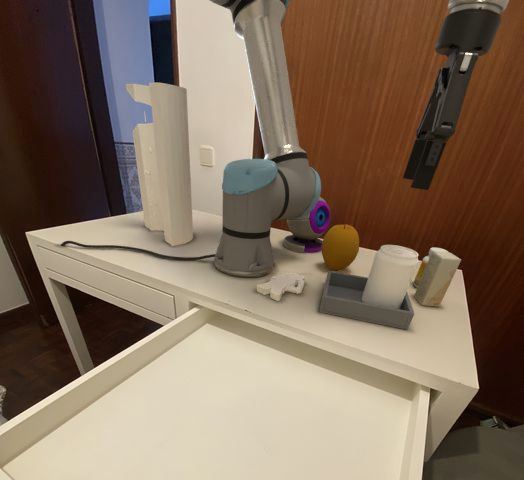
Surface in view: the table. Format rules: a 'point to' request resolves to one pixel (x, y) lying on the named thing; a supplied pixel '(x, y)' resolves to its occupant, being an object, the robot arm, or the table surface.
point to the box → (436, 278)
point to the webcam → (308, 229)
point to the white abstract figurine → (282, 285)
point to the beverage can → (390, 276)
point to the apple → (340, 247)
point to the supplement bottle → (423, 265)
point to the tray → (360, 302)
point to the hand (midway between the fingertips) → (413, 183)
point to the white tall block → (164, 161)
